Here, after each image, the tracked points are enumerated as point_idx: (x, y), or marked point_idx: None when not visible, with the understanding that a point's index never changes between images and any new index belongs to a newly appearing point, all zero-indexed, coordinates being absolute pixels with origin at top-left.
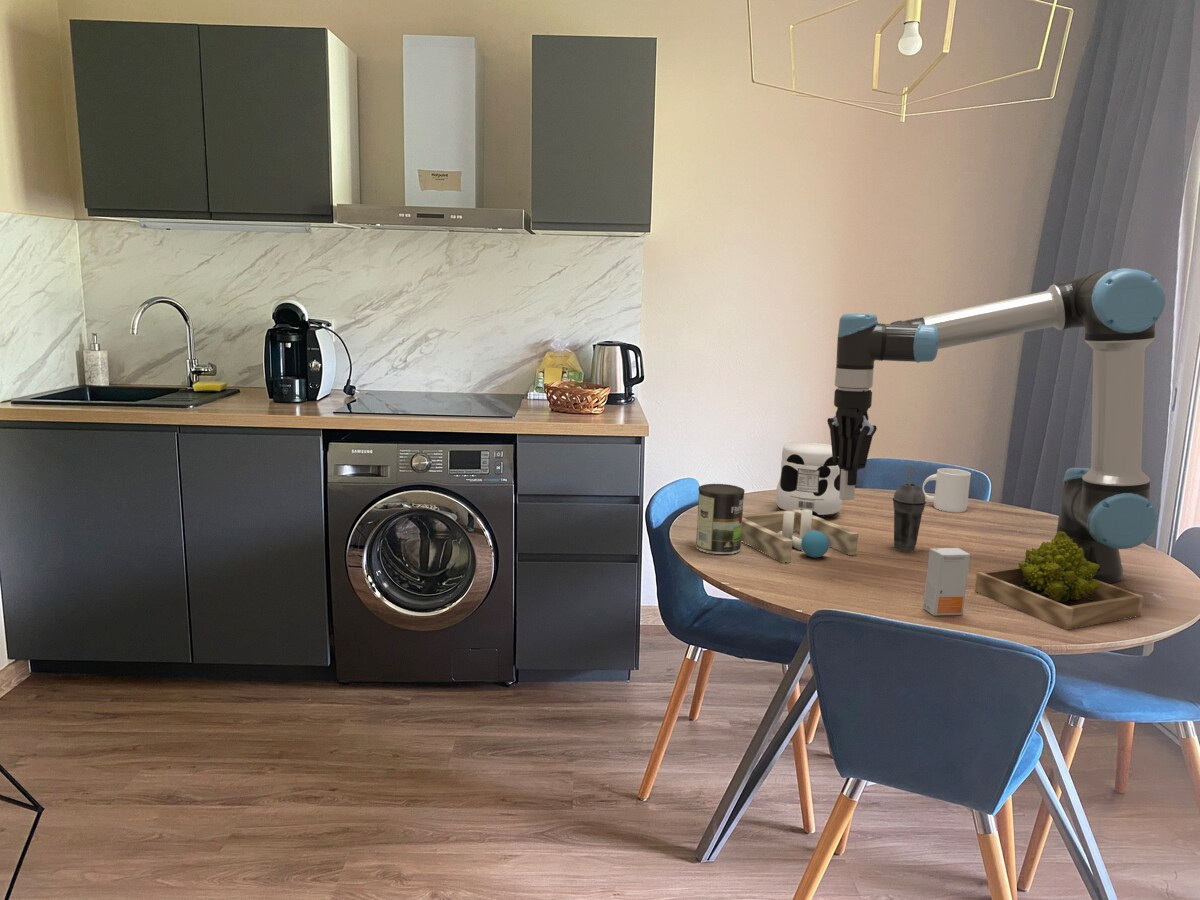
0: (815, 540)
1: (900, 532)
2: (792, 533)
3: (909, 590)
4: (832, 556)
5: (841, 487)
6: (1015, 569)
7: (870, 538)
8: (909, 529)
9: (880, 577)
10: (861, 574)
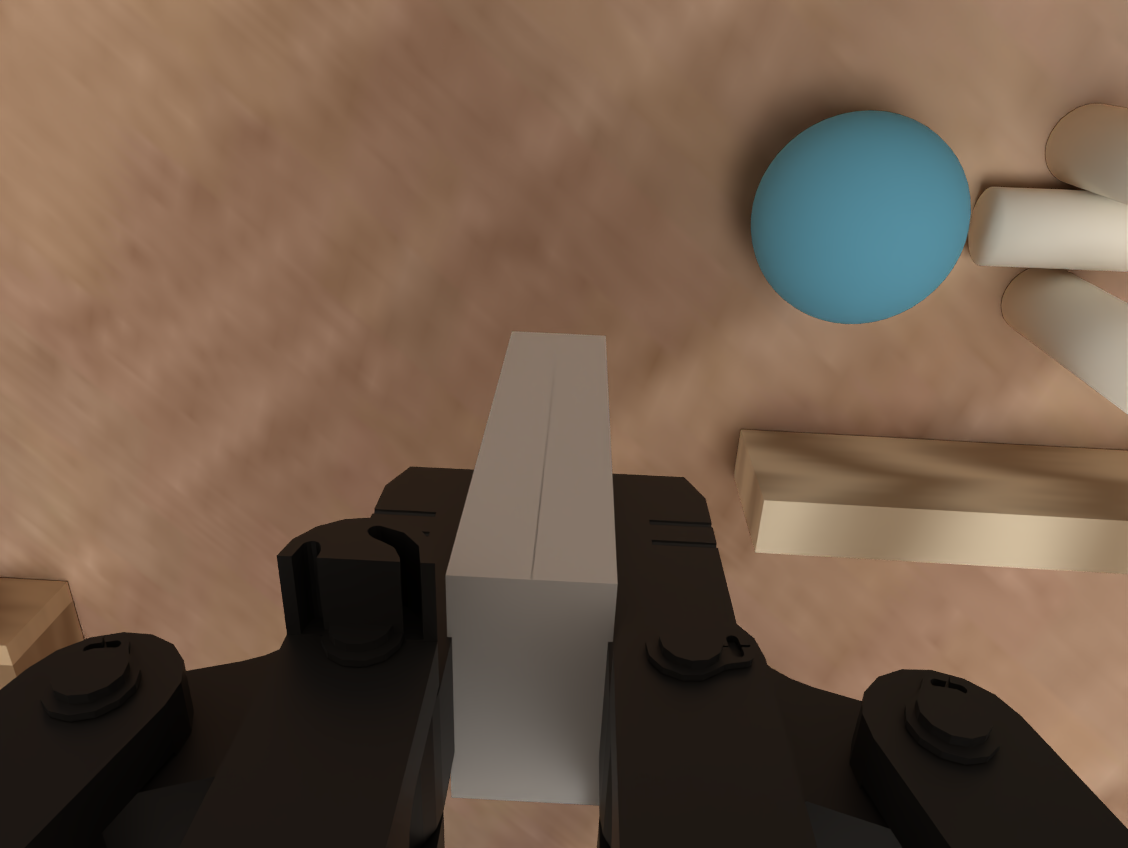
0: (807, 169)
1: None
2: (1111, 184)
3: (123, 307)
4: (779, 324)
5: (568, 399)
6: None
7: None
8: None
9: (351, 316)
10: (429, 248)
